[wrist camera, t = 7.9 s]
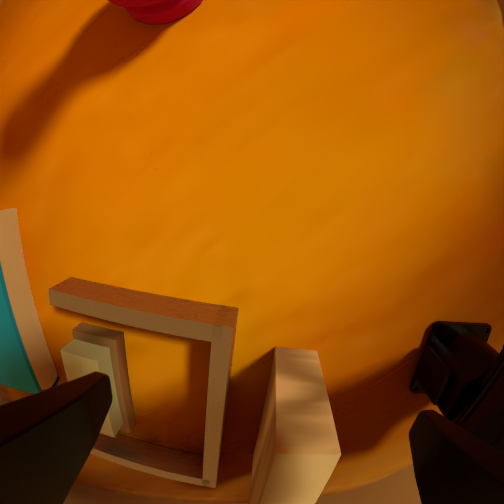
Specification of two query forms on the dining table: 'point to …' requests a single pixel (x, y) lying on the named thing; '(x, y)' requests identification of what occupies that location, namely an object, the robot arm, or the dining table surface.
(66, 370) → the offcut top
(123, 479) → the dining table surface
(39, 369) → the book
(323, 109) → the dining table surface
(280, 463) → the sheet
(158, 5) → the pepper mill
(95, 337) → the offcut low
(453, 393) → the robot arm
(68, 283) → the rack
